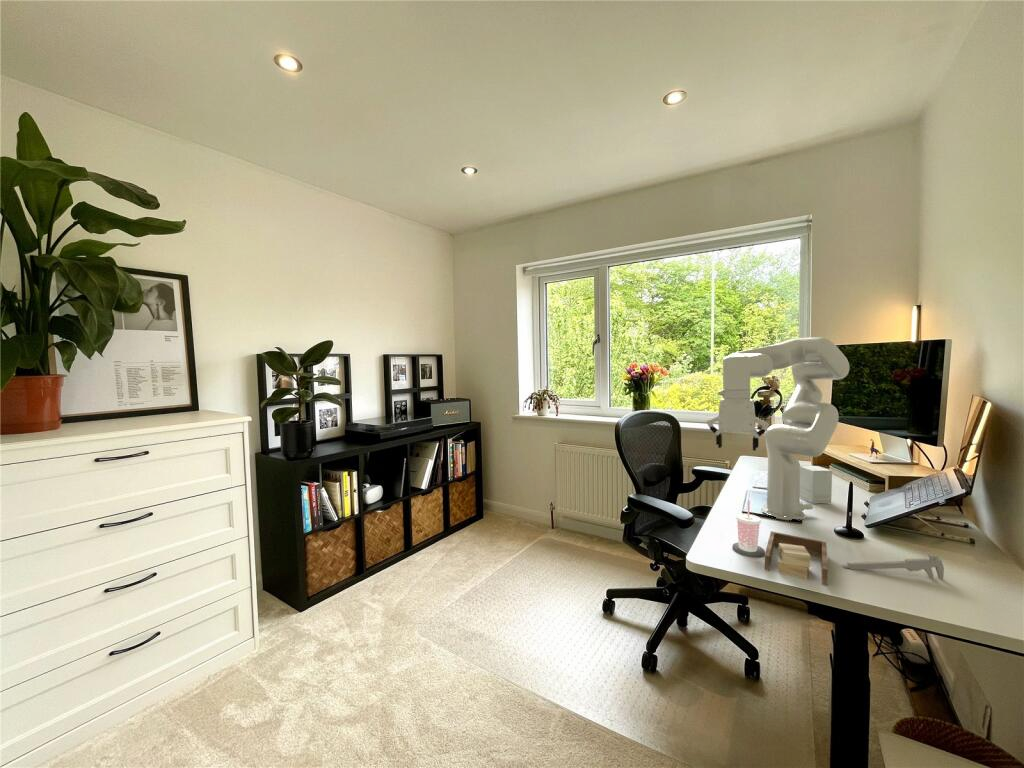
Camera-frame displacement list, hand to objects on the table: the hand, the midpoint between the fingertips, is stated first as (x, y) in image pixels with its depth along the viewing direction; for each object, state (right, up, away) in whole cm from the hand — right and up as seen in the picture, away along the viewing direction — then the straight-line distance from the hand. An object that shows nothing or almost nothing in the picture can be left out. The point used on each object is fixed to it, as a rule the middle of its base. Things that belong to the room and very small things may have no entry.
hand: (736, 448), depth 132 cm
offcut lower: (+1, -28, -25) cm, 38 cm away
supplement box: (+44, -24, +27) cm, 57 cm away
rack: (+5, -27, -21) cm, 35 cm away
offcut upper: (+1, -25, -25) cm, 35 cm away
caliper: (+25, -28, -27) cm, 46 cm away
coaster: (-4, -27, -14) cm, 30 cm away
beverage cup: (-4, -27, -13) cm, 30 cm away
